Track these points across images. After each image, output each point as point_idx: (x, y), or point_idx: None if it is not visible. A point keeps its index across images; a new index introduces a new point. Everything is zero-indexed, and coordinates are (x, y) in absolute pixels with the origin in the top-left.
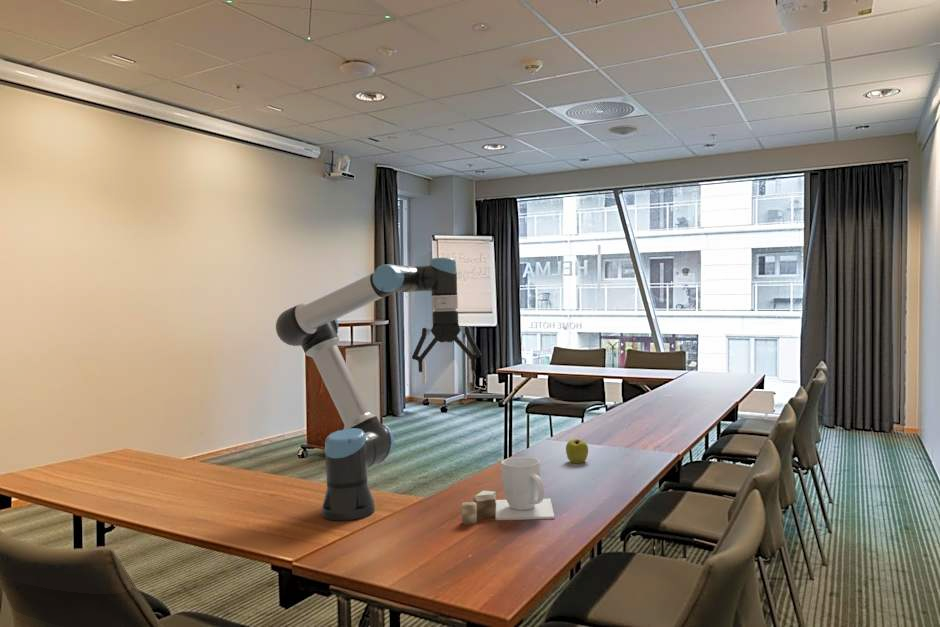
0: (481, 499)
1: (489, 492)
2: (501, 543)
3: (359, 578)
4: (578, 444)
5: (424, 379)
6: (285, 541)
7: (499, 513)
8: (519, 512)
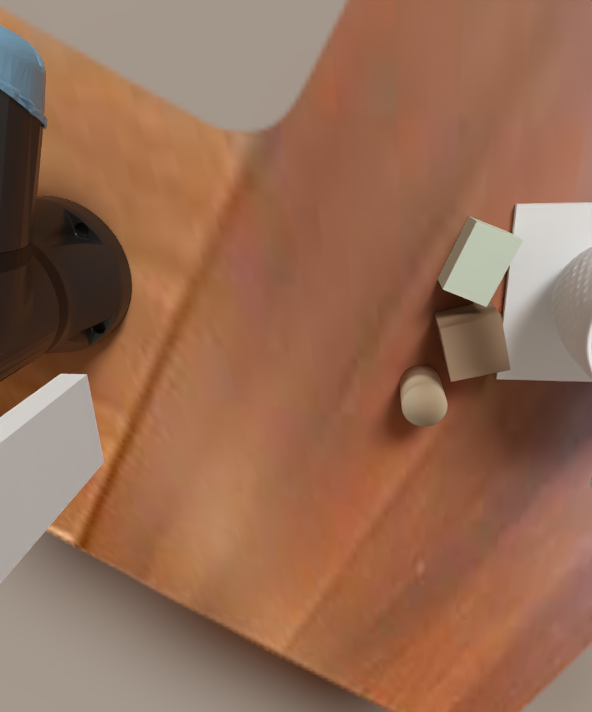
0: (465, 366)
1: (498, 248)
2: (494, 521)
3: (226, 623)
4: None
5: (74, 488)
6: None
7: (512, 342)
8: None
